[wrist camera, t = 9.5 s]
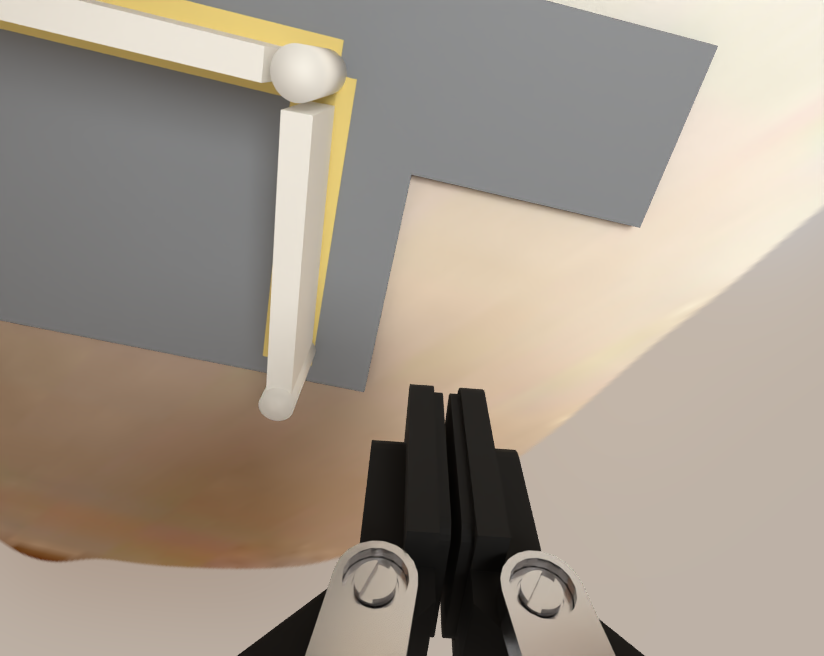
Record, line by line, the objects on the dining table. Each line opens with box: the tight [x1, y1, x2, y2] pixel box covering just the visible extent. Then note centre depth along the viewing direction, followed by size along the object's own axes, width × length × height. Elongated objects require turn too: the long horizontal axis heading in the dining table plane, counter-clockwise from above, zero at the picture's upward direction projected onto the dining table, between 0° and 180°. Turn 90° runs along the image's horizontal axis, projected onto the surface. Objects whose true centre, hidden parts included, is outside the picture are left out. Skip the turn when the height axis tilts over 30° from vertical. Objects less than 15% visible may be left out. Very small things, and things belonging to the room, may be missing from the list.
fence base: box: [0, 0, 718, 392], centre depth 20 cm, size 28×18×6 cm, turn 77°
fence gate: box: [259, 101, 335, 421], centre depth 21 cm, size 12×1×5 cm, turn 170°
